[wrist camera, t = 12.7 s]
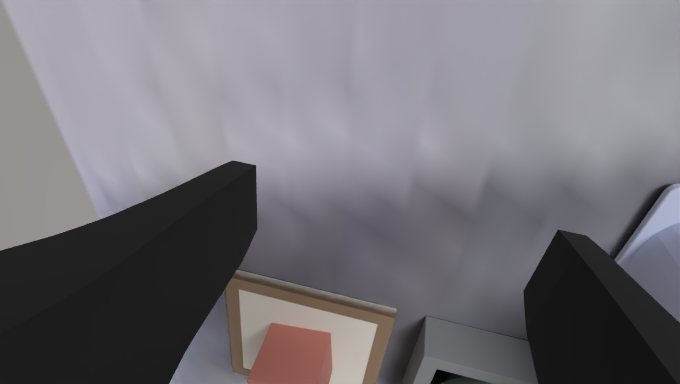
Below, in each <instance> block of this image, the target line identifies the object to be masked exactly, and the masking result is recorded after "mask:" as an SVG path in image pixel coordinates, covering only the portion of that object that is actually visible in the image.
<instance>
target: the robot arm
mask: <svg viewBox="0 0 680 384" xmlns="http://www.w3.org/2000/svg"><path fill="white" fill-rule="evenodd" d="M256 230H257V194H256V165H251V164H247V163H242V162H237V161H231V162H228V163H226V164H223V165H221V166H219V167H217V168H215V169H212V170H210V171H208V172H206V173H204V174H202V175H200V176H198V177H196V178H194V179H192V180H190V181H188V182H185V183H183V184H181V185H179V186H177V187H175V188H173V189H171V190H169V191H166V192H164V193H162V194H160V195H158V196H156V197H153V198H151V199H149V200H146V201H144V202H141V203H139V204H137V205H134V206H132V207H130V208H127V209H125V210H123V211H120V212H118V213H116V214H113V215H111V216H108V217H106V218H103V219H100V220H97V221H95V222H92V223H89V224H86V225H84V226H81V227H78V228H75V229H72V230H69V231H66V232H63V233H60V234H57V235H54V236H51V237H48V238H44V239H40V240H37V241H33V242H30V243H26V244H23V245H19V246H15V247H12V248H8V249H5V250H2V251H0V384H169V383H170V381H171V379H172V377H173V375H174V373H175V371H176V369H177V367H178V365H179V363H180V361H181V359H182V357H183V355H184V353H185V351H186V350H187V348H188V346H189V345H190V343H191V341H192V340H193V338H194V336H195V334H196V333H197V331H198V330H199V328H200V327H201V325H202V324H203V322H204V320H205V319H206V317H207V316H208V314H209V313H210V311H211V310H212V308H213V306H214V305H215V303H216V302H217V300H218V299H219V297H220V296H221V294H222V293H223V291H224V289H225V288H226V286H227V285H228V283H229V282H230V280H231V278H232V277H233V275H234V274H235V272H236V270H237V269H238V267H239V266H240V264H241V262H242V261H243V258H244V256H245V254H246V252H247V250H248V248H249V246H250V244H251V241H252V239H253V237H254V235H255V232H256ZM524 305H525V319H526V330H527V335H528V340H529V345H530V350H531V354H532V359H533V363H534V368H535V372H536V377H537V381H538V384H680V184H673V185H671V186H669V187H667V188H666V189H665V190H664V191H663V192H662V194H661V195H660V197H659V198H658V199H657V201H656V202H655V204H654V205H653V206H652V208H651V209H650V211H649V212H648V213H647V215H646V216H645V218H644V219H643V220H642V222H641V223H640V225H639V226H638V227H637V229H636V230H635V232H634V233H633V234H632V236H631V237H630V239H629V240H628V241H627V243H626V244H625V246H624V247H623V248H622V250H621V251H620V253H619V254H618V255H617V257H616V258H615V260H613V259H612V258H611V257H610V256H609V255H608V254H607V253H606V252H605V251H604V250H602V249H601V248H600V247H599V246H598V245H597V244H596V243H595V242H593V241H592V240H591V239H590V238H589V237H587V236H585V235H581V234H576V233H571V232H567V231H562V230H558V231H557V232H556V234H555V236H554V238H553V240H552V241H551V243H550V245H549V247H548V248H547V250H546V252H545V254H544V255H543V257H542V259H541V261H540V263H539V264H538V266H537V268H536V270H535V271H534V273H533V275H532V277H531V279H530V280H529V282H528V284H527V286H526V287H525V289H524Z"/></svg>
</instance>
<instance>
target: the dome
mask: <svg viewBox="0 0 680 384" xmlns="http://www.w3.org/2000/svg"><path fill="white" fill-rule="evenodd" d="M440 384H492V383H488V382H485V381H481V380H477V379H473V378H469V377H459V378H455V379H451V380H448V381H445V382H442V383H440Z"/></svg>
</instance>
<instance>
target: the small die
mask: <svg viewBox="0 0 680 384" xmlns="http://www.w3.org/2000/svg"><path fill="white" fill-rule="evenodd" d="M332 370H333V368H332V349H331V333H329V332H323V331H317V330H311V329H305V328H300V327H294V326H288V325H282V324H277V323H271V325H270V327H269V330H268V332H267V334H266V336H265V339H264V341H263V343H262V346H261V348H260V350H259V353H258V355H257V357H256V359H255V362H254V364H253V366H252V369H251V371H250V373H249V375H248V378H247V382H248V384H329V382H330V378H331V374H332Z"/></svg>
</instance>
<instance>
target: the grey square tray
mask: <svg viewBox="0 0 680 384" xmlns="http://www.w3.org/2000/svg"><path fill="white" fill-rule="evenodd" d="M437 369H439V370H442V371H446V372H450V373H449V374H448V376H447V378H446V381H448V380H451V379H455V378H459V377H469V378H473V379H477V380H481V381H485V382H488V383H492V384H538V381H537V377H536V372H535V368H534V363H533V359H532V354H531V350H530V345H529V341H526V340H522V339H517V338H513V337H509V336H505V335H501V334H497V333H493V332H489V331H485V330H481V329H477V328H473V327H469V326H465V325H461V324H457V323H452V322H448V321H444V320H440V319H436V318H432V317H428V316H426V317H425V320H424V323H423V325H422V328H421V331H420V334H419V336H418V339H417V342H416V344H415V347H414V350H413V352H412V355H411V358H410V361H409V363H408V366H407V369H406V371H405V374H404V377H403V380H402V382H401V384H430V383H431V381H432V378H433V376H434V374H435V372H436V370H437Z"/></svg>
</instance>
